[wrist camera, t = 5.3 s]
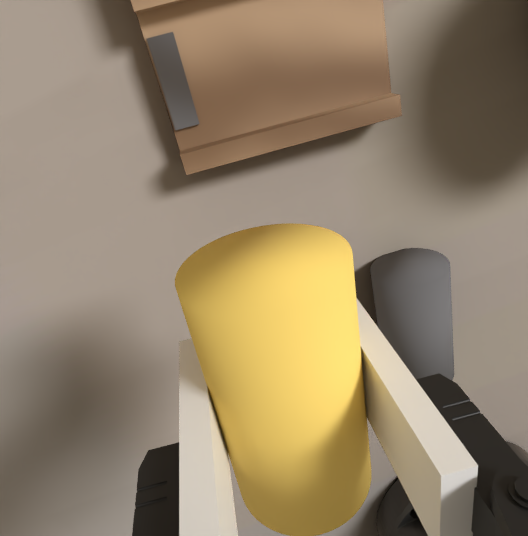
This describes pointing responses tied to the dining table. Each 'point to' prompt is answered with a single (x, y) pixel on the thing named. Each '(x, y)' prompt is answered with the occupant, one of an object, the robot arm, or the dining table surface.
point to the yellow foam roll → (284, 370)
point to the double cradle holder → (266, 72)
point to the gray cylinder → (416, 309)
